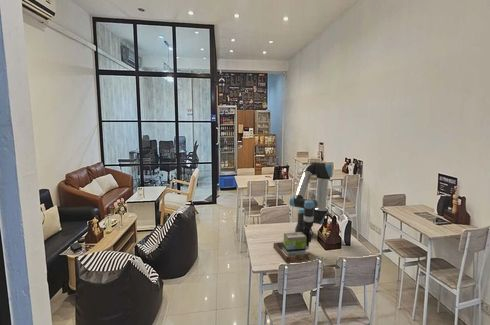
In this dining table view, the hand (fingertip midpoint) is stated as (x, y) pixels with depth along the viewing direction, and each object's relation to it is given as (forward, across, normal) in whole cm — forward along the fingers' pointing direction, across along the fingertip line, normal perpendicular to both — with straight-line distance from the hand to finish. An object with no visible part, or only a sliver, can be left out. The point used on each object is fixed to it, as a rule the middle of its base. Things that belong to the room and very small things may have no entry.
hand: (306, 249), depth 225 cm
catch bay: (+2, 0, -13) cm, 14 cm away
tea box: (+2, 0, -10) cm, 11 cm away
